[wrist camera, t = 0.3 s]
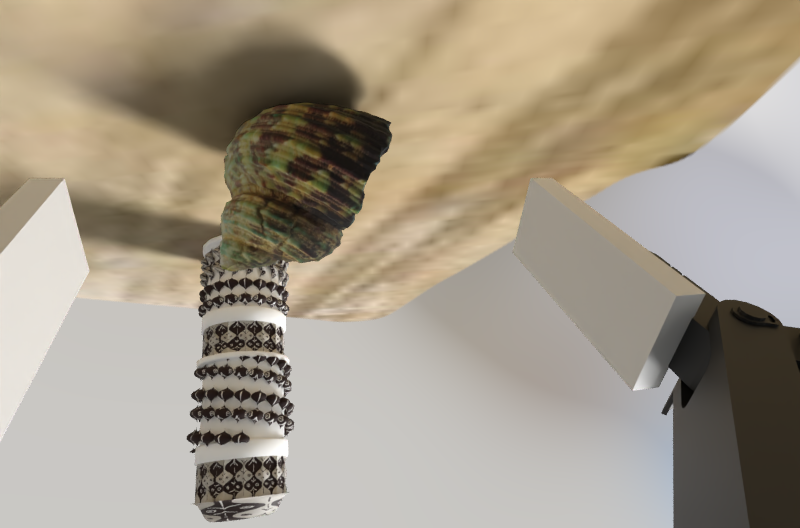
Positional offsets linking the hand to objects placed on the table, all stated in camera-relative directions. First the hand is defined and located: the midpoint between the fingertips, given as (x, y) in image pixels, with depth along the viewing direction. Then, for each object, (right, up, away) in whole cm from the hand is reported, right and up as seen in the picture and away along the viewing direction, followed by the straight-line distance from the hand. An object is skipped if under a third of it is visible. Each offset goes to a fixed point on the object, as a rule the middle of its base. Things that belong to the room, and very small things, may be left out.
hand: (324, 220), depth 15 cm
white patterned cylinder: (-14, 0, +37) cm, 39 cm away
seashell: (-5, +8, +20) cm, 23 cm away
